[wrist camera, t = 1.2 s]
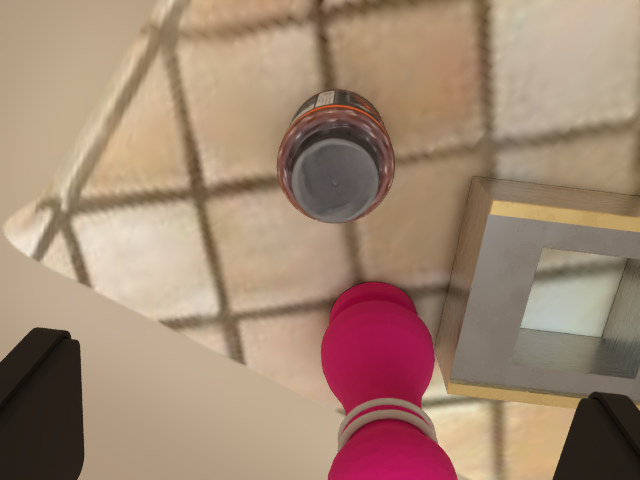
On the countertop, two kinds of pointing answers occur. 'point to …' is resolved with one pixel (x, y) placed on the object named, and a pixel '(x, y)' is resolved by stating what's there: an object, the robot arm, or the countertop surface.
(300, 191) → the supplement bottle
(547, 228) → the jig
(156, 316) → the countertop surface
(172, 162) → the countertop surface
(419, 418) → the pepper mill
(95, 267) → the countertop surface
